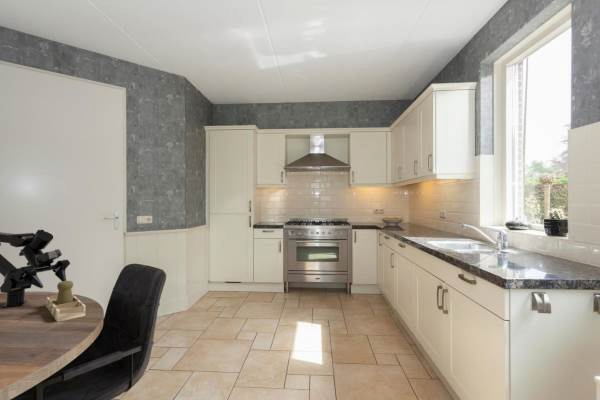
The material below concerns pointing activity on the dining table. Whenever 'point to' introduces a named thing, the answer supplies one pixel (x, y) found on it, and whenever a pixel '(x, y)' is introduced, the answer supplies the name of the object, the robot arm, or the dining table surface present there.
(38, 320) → the dining table surface
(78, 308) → the wooden compartment tray
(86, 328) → the dining table surface
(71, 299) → the cork
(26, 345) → the dining table surface
